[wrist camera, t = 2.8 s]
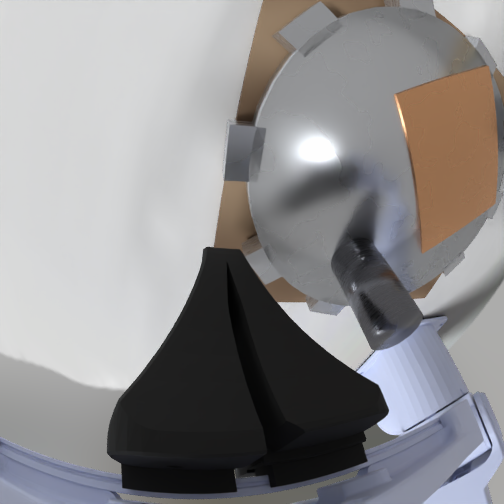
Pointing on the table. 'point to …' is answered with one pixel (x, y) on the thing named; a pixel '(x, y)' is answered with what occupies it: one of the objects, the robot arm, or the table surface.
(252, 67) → the walnut board
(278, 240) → the sprocket
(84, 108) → the table surface
